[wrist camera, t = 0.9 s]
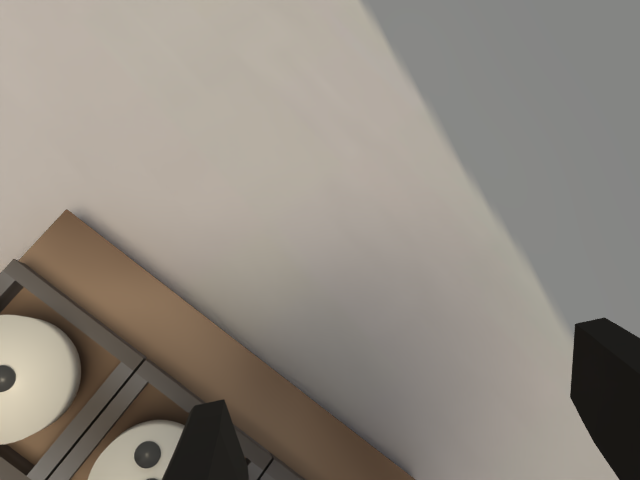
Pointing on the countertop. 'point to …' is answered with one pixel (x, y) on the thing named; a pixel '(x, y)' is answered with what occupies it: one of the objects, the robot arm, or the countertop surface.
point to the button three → (139, 452)
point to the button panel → (160, 371)
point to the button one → (34, 376)
